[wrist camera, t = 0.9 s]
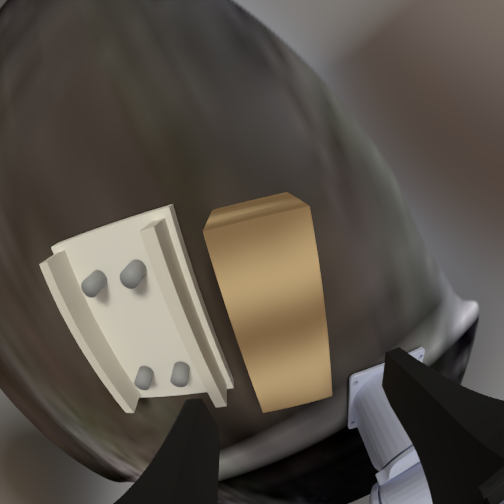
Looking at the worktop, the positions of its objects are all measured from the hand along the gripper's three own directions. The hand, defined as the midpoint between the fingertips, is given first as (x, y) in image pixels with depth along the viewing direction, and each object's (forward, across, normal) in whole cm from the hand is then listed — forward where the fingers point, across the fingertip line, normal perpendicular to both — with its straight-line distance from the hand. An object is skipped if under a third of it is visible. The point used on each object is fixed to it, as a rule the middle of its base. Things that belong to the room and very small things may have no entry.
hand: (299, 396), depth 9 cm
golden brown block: (+9, 0, 0) cm, 9 cm away
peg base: (+9, +9, 0) cm, 13 cm away
